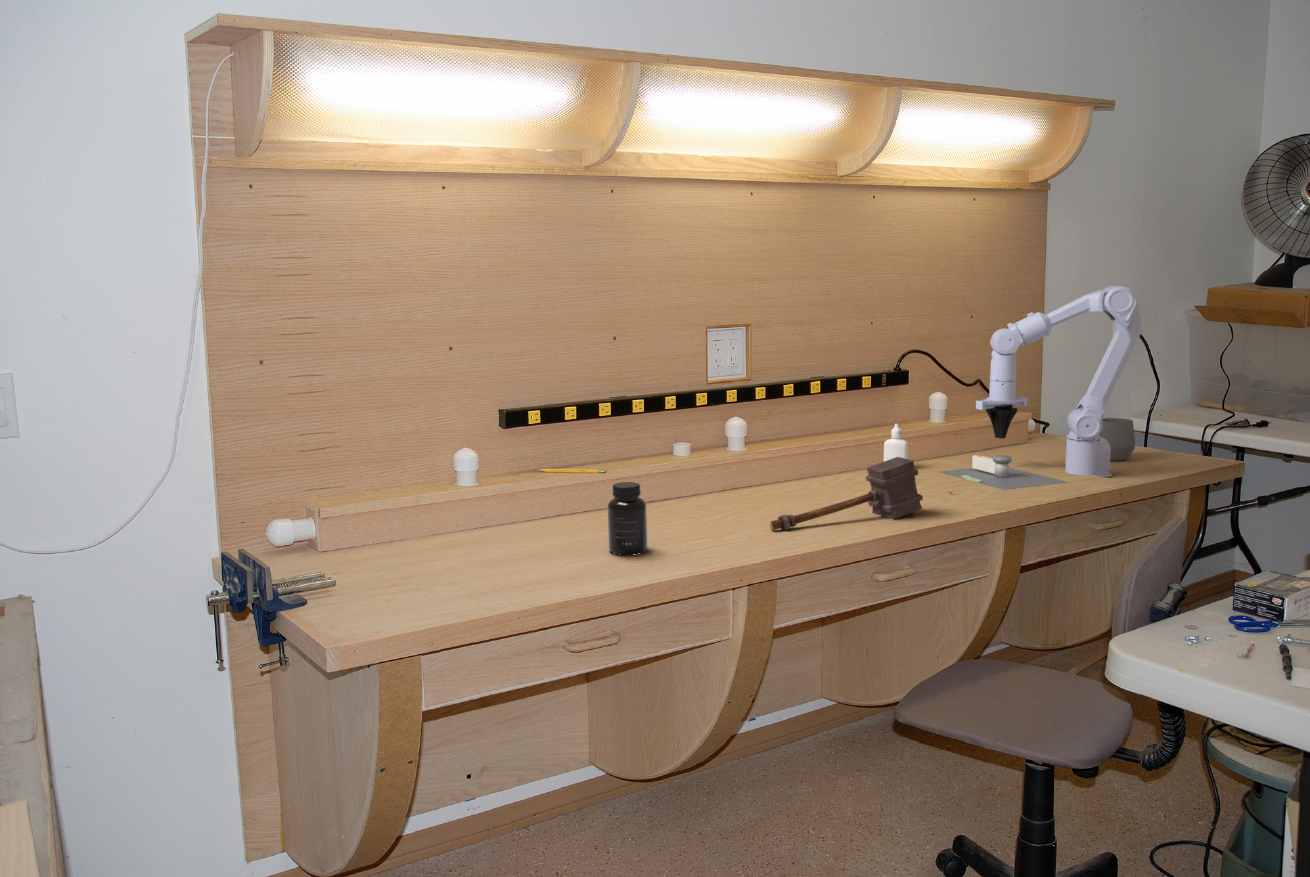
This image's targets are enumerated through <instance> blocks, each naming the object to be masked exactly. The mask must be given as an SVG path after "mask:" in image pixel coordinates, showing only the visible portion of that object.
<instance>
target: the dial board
mask: <svg viewBox="0 0 1310 877" xmlns="http://www.w3.org/2000/svg"><path fill="white" fill-rule="evenodd" d="M939 473H941V474H945V475H949V476H951V477H955V478H960V479H963V480H967V481H970V482H974V483H978V484H981V485H984V486H988V487H992V488H995V489H998V490H1003V491H1006V490H1007V491H1009V490H1017V489H1024V488H1033V487H1040V486H1047V485H1048V486H1049V485H1056V484H1064V483H1065V484H1066V483H1068V481H1066V480H1062V479H1058V478H1054V477H1049V476H1045V475H1041V474H1037V473H1034V472H1030V471H1029V472H1028V471H1027V470H1026V471H1025V470H1022V469H1021V470H1020V469H1018V468H1013V467H1009V476H1008V477H1006V478H1001V477H995V474H994V473H990V472H986V471H982V470H978V469H974V468H972V467H969V468H960V469H950V470H942V471H939Z"/></svg>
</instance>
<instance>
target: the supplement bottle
mask: <svg viewBox="0 0 1310 877" xmlns="http://www.w3.org/2000/svg"><path fill="white" fill-rule="evenodd" d="M611 494H612V497H613V498H612V499H611V500H610V501H609V502H608V503H607V530H608V531H607V533H608V534H607V535H608V550H609V551H611V552H612V553H611V552H610V553H611V554H613V553H615V554H620V555H633V554H638V553H642V554H644V553H645V552H646V551H647V550H648V525H647V524H648V517H647V515H648V514H647V503H646V500H644V499H643V498H642V497H640V496H641V495H642V492H641V484H640V483H638V482H634V481H623V482H622V481H621V482H615V483H613V485H612V492H611ZM644 551H645V552H644ZM643 552H644V553H643ZM615 554H614V555H615ZM620 555H619V556H620ZM633 556H634V555H633Z"/></svg>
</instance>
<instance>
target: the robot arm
mask: <svg viewBox="0 0 1310 877" xmlns="http://www.w3.org/2000/svg"><path fill="white" fill-rule="evenodd" d="M1097 312H1098V313H1105V315H1107V317H1108V318H1109V320H1110V321H1111V323H1112V326H1113V327H1114V329H1115V332H1114V334H1113V337H1112V339H1111V340H1110V343H1109V344H1108V347H1107V348H1106V351H1105V353H1104V355H1103V356H1102V359H1101V361H1100V363H1099V365H1098V367H1097V369H1096V372H1095V373H1094V376H1093V377H1092V380H1091V382H1090V384H1089V387H1088V388H1087V390H1086V392H1085V394H1084V395H1083V397H1081V399H1080V401H1079V403H1078V404H1077V406H1075V408H1073V409H1072V410H1071V411H1070V412H1069V413H1068V415H1067V419H1066V423H1067V426H1068V427H1069V429H1070V431H1069V433H1068V434H1066V445H1065V460H1064V461H1065V464H1064V466H1065V467H1064V473H1067V474H1071V475H1076V476H1077V475H1078V476H1097V477H1101V478H1109V477H1112V476H1113V474H1112V473H1110V471H1111V470H1110V468H1111V461H1110V454H1111V449H1110V445H1109V443H1108V441H1107V440H1106V439H1104V438H1102V437H1101V436H1100V435H1099V434H1100V432H1101V430H1102V419H1103V418H1104V415H1105V414H1106V409H1107V403H1108V401H1109V400H1110V397H1111V395H1112V394H1113V391H1114V389H1115V386H1116V385H1117V383H1118V380H1119V379H1120V377H1121V375H1122V372H1123V371H1124V368H1125V367H1126V364H1127V363H1128V360H1129V359H1130V356H1131V355H1132V352H1133V350H1134V348H1135V345H1137V342H1138V341H1139V338H1140V336H1141V334H1142V330H1143V327H1142V326H1143V325H1142V321H1141V320H1142V318H1141V314H1140V313H1141V312H1140V301H1139V299H1138V298H1137V296H1136V294H1135V293H1134V291H1133V290H1132V289H1131V288H1129V287H1126V286H1123V285H1122V286H1121V285H1120V286H1119V285H1109V286H1107V287H1105V288H1103V289H1097V290H1094V291H1093V292H1090V293H1086V294H1083V296H1082V295H1081V296H1080V297H1078V298H1076V299H1074V300H1073V301H1070V302H1068V303H1066V304H1065V305H1062V306H1061V307H1058V308H1057V309H1055V310H1054V309H1053V310H1052V311H1051V312H1049V313H1047V314H1046V313H1043V312H1039V311H1037V312H1035V313H1034V312H1030V313H1027V314H1026V316H1027V317H1025V318H1023V319H1021V320H1019V321H1016V322H1014V323H1012V322H1009V323H1007V325H1006V326H1007V327H1008V328H999V329H997V330H996V331H995V332H994V333H993V334H992V336H991V339H990V340H989V341H990V342H989V343H990V346H991V348H992V350H991V351H992V352H991V360H990V369H989V370H990V373H989V374H990V375H989V392H988V393H989V394H988V395H989V396H987V397H986V398H984V399H980V400H975V410H980V411H985V412H986V414H987V416H988V417H989V420H990V422H991V425H992V429H993V433H994V438H997V439H1006V437H1007V435H1008V431H1009V427H1010V426H1011V423H1012V421H1013V419H1014V417H1015V416H1016V414H1017V413H1018V407H1019V406H1022V407H1023V406H1024V407H1025V406H1027V405H1028V397H1027V396H1016V384H1017V383H1016V382H1017V363H1018V362H1017V350H1018V349H1019V347H1020V346H1021V347H1025V346H1026V345H1029V344H1032V343H1034V342H1035V341H1038V340H1040V339H1043V338H1045V337H1047V336H1049V335H1050V334H1051V331H1052V328H1054V327H1055V326H1058V325H1059V324H1062V323H1065V322H1067V321H1069V320H1071V319H1074V318H1076V317H1078V316H1081V315H1083V314H1085V313H1097ZM1017 406H1018V407H1017Z"/></svg>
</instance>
